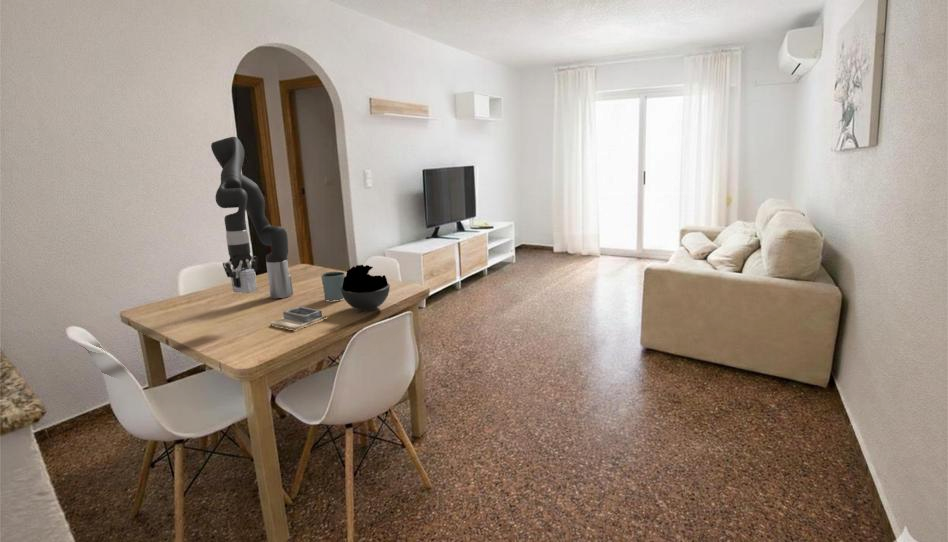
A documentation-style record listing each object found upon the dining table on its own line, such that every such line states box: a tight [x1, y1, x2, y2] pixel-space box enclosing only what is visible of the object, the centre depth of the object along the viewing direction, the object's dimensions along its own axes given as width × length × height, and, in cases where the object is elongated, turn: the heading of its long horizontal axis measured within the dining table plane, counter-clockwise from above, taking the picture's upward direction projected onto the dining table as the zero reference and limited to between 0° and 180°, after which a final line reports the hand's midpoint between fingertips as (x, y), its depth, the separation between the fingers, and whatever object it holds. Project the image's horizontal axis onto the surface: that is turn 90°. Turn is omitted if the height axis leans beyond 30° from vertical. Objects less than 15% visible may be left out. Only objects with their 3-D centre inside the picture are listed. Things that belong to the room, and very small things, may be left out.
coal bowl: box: [341, 264, 391, 311], centre depth 208 cm, size 20×20×19 cm
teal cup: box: [321, 271, 346, 301], centre depth 224 cm, size 10×10×12 cm
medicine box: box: [230, 268, 258, 294], centre depth 190 cm, size 8×4×9 cm, turn 71°
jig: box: [269, 306, 328, 330], centre depth 194 cm, size 16×14×4 cm
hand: (244, 285), depth 190 cm, fingers closed on medicine box, 5 cm apart
